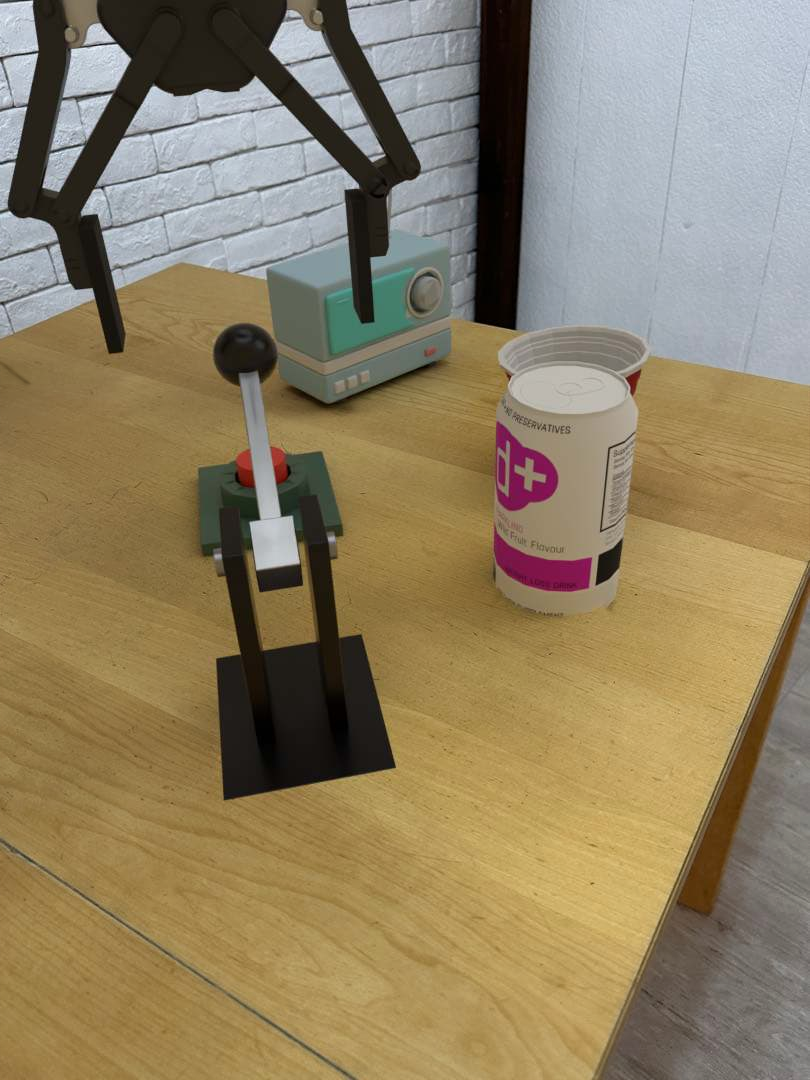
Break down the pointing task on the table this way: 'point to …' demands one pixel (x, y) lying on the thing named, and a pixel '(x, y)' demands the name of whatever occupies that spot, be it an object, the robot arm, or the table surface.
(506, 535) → the supplement can
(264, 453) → the lever
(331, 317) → the radio
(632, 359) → the plastic cup
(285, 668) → the bracket
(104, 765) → the table surface
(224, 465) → the button box
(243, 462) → the button
